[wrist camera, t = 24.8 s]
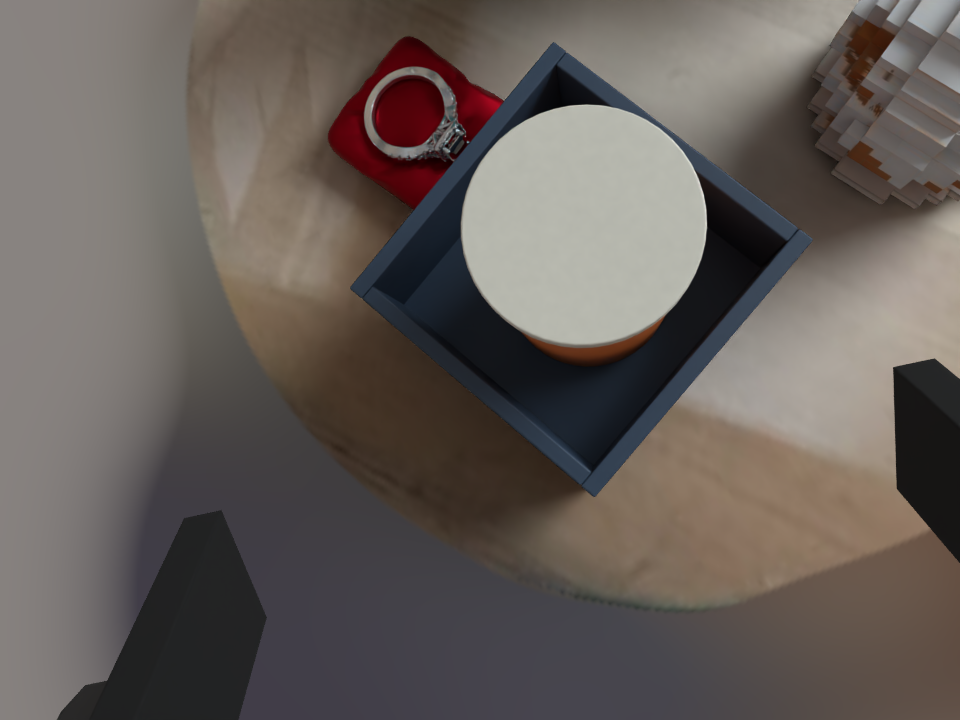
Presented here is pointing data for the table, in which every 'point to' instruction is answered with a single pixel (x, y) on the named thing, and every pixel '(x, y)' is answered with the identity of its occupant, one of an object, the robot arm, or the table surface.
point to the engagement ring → (410, 120)
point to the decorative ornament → (894, 100)
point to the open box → (513, 358)
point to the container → (584, 231)
